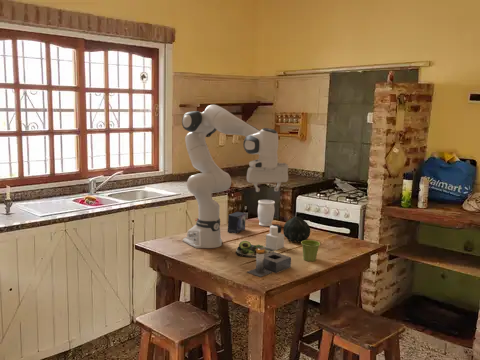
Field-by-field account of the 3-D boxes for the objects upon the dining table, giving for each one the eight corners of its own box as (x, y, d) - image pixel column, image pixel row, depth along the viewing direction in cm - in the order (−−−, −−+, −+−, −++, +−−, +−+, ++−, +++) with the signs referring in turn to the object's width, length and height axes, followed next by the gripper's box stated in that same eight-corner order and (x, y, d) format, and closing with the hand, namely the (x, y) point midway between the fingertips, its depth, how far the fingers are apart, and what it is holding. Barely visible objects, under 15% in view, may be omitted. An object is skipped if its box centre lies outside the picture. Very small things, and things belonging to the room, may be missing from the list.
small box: (236, 234, 278) (237, 216, 276) (227, 232, 281) (227, 214, 279) (245, 230, 287) (246, 212, 285) (236, 228, 290) (236, 211, 288)
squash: (301, 225, 279) (289, 208, 272) (319, 233, 267) (306, 215, 260) (286, 243, 276) (273, 227, 268) (303, 252, 264) (290, 234, 256)
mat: (247, 272, 218) (247, 271, 218) (258, 268, 224) (258, 267, 224) (260, 277, 213) (260, 276, 212) (271, 272, 218) (271, 272, 218)
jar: (277, 225, 300) (278, 201, 297) (265, 227, 293) (266, 203, 290) (265, 221, 307) (265, 198, 305) (253, 224, 300) (254, 200, 297)
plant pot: (323, 260, 238) (324, 243, 236) (311, 264, 231) (312, 246, 230) (308, 255, 244) (309, 238, 243) (296, 259, 238) (297, 242, 236)
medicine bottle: (273, 244, 260) (274, 223, 258) (284, 247, 256) (285, 225, 254) (265, 247, 255) (266, 225, 253) (276, 250, 250) (277, 228, 248)
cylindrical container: (257, 273, 216) (257, 250, 214) (254, 270, 219) (255, 247, 217) (264, 272, 217) (265, 249, 215) (262, 270, 220) (263, 247, 218)
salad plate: (275, 249, 254) (276, 240, 253) (272, 260, 236) (272, 251, 236) (239, 246, 257) (240, 237, 256) (233, 256, 239) (234, 248, 239)
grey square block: (257, 266, 225) (258, 256, 225) (272, 261, 233) (273, 251, 232) (275, 273, 218) (276, 262, 217) (290, 267, 226) (291, 257, 225)
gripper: (286, 161, 233) (284, 189, 236) (245, 162, 227) (245, 190, 230) (291, 163, 227) (289, 192, 230) (250, 164, 221) (249, 193, 224)
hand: (267, 191), depth 230 cm, fingers open, 8 cm apart
